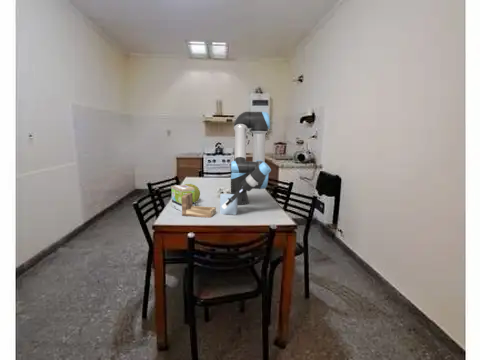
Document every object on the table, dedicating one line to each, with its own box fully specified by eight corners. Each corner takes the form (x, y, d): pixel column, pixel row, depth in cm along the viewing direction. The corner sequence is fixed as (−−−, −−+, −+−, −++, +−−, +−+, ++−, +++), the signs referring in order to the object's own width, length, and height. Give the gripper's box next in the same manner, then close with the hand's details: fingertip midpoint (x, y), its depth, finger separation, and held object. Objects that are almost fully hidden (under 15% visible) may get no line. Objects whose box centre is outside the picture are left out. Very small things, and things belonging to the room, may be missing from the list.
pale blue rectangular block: (221, 212, 213) (221, 193, 212) (237, 213, 212) (237, 194, 210) (220, 213, 209) (220, 194, 207) (235, 214, 207) (236, 195, 206)
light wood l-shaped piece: (188, 211, 214) (188, 192, 212) (215, 212, 211) (216, 194, 209) (182, 215, 203) (181, 196, 201) (210, 217, 199) (210, 197, 197)
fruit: (194, 206, 227) (182, 187, 224) (180, 211, 236) (169, 192, 233) (207, 195, 240) (197, 177, 237) (194, 200, 248) (184, 182, 246)
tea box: (171, 207, 224) (170, 185, 222) (184, 205, 230) (184, 184, 228) (181, 211, 212) (181, 188, 210) (195, 209, 218) (195, 187, 216)
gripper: (250, 190, 193) (224, 214, 198) (256, 184, 217) (233, 205, 222) (241, 181, 193) (216, 205, 198) (248, 175, 217) (225, 197, 222)
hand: (225, 205), depth 210 cm, fingers open, 13 cm apart
